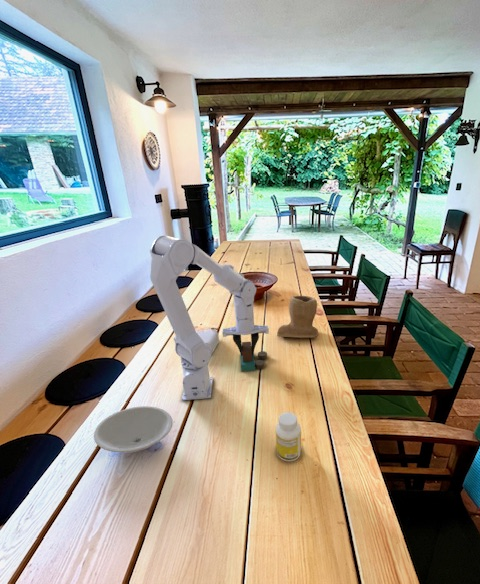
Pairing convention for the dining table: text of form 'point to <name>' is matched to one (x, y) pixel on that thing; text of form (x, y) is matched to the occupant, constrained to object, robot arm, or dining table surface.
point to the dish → (133, 429)
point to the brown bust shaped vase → (300, 318)
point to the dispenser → (209, 338)
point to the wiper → (247, 357)
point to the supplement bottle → (288, 437)
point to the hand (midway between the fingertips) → (247, 353)
